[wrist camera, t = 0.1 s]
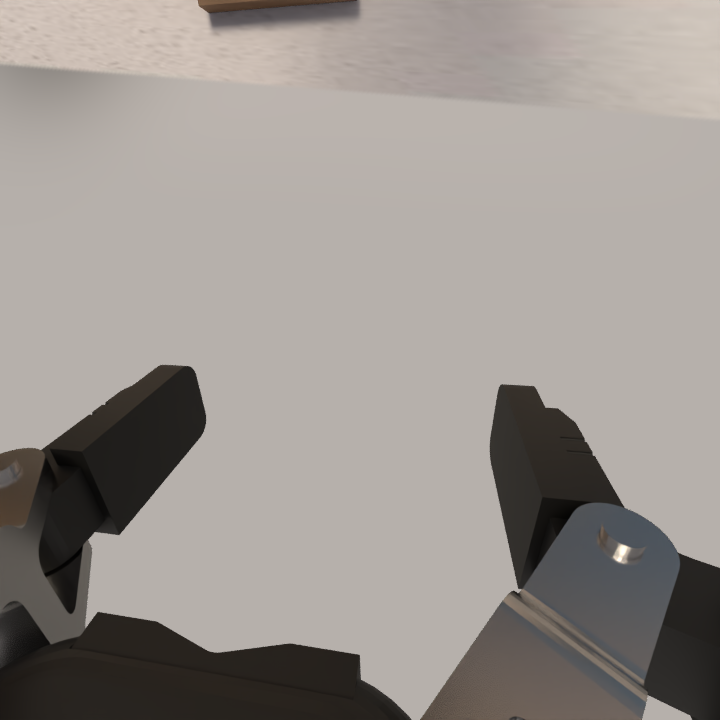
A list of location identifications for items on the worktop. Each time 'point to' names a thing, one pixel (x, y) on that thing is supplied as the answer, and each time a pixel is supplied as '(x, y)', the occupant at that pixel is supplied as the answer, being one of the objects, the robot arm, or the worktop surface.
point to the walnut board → (254, 4)
